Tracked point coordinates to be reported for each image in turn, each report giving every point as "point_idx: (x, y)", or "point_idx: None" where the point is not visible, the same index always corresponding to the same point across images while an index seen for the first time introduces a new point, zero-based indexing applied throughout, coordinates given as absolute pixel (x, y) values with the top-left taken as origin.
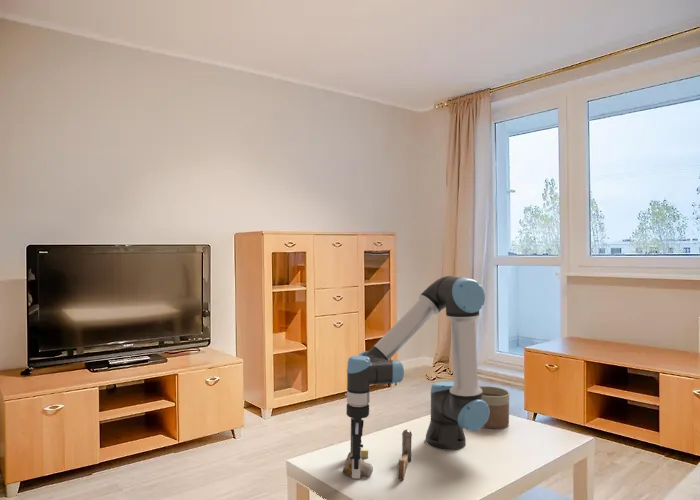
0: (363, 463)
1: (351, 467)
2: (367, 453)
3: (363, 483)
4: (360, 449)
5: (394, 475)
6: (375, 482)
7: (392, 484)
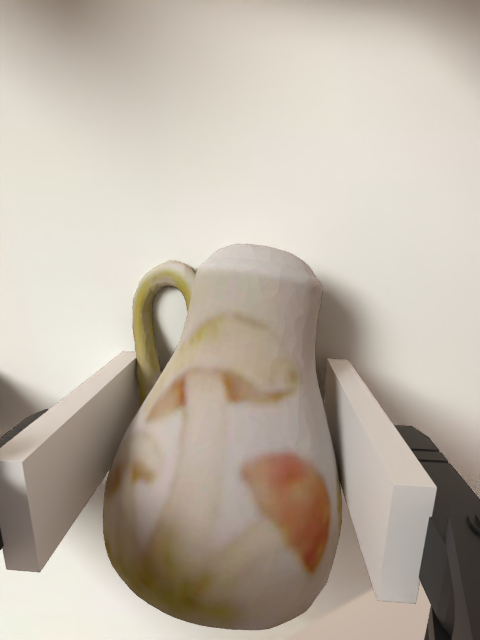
0: (278, 372)
1: (339, 486)
2: None
3: (418, 328)
4: (27, 467)
5: (246, 3)
6: (405, 219)
7: (462, 31)
